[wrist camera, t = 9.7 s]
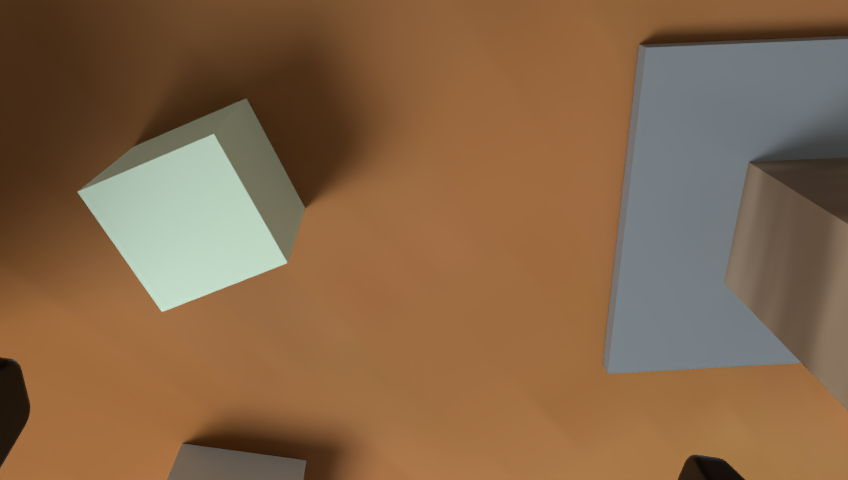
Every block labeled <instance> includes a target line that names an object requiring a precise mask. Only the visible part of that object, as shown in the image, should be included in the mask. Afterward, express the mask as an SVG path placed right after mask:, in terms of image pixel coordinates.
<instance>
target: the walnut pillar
mask: <svg viewBox="0 0 848 480" xmlns="http://www.w3.org/2000/svg"><path fill="white" fill-rule="evenodd" d="M724 283H725V284H726V285H727V286H728V288H729V289H730V290H731V291H732V292H733V293H734V294H735V295H736V296H737V297H738V298H739V299H740V300H741V301H742V302H743V303H744V304H745V305H746V306H747V307H748V308H749V309H750V310H751V311H752V312H753V313H754V314H755V315H756V316H757V318H758V319H759V320H760V321H761V322H762V323H763V324H764V325H765V326H766V327H767V328H768V329H769V330H770V331H771V332H772V333H773V334H774V335H775V336H776V337H777V338H778V339H779V340H780V341H781V342H782V343H783V344H784V345H785V347H786V348H787V349H788V350H789V351H790V352H791V353H792V354H793V355H794V356H795V357H796V358H797V359H798V360H799V361H800V362H801V363H802V364H803V365H804V366H805V367H806V368H807V369H808V370H809V371H810V372H811V373H812V374H813V375H814V377H815V378H816V379H817V380H818V381H819V382H820V383H821V384H822V385H823V386H824V387H825V388H826V389H827V390H828V391H829V392H830V393H831V394H832V395H833V396H834V397H835V398H836V399H837V400H838V401H839V402H840V403H841V404H842V406H843V407H844V408H845V409H846V410H847V411H848V157H845V158H824V159H803V160H782V161H761V162H748V167H747V172H746V177H745V182H744V187H743V192H742V197H741V201H740V206H739V211H738V216H737V221H736V226H735V231H734V236H733V241H732V245H731V250H730V255H729V260H728V265H727V270H726V275H725V280H724Z"/></svg>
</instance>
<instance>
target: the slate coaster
mask: <svg viewBox="0 0 848 480" xmlns="http://www.w3.org/2000/svg"><path fill="white" fill-rule="evenodd" d="M845 157H848V36H827V37H804V38H780V39H757V40H733V41H710V42H686V43H663V44H639V49H638V58H637V67H636V76H635V85H634V93H633V102H632V111H631V120H630V129H629V137H628V146H627V155H626V164H625V173H624V181H623V190H622V199H621V208H620V217H619V226H618V234H617V243H616V252H615V261H614V270H613V278H612V287H611V296H610V305H609V314H608V323H607V331H606V340H605V349H604V358H603V365H604V367H605V369H606V372H607V374H612V373H629V372H647V371H664V370H682V369H699V368H717V367H734V366H752V365H769V364H787V363H801V362H800V361H799V360H798V359H797V358H796V357H795V356H794V355H793V354H792V353H791V352H790V351H789V350H788V349H787V348H786V347H785V345H784V344H783V343H782V342H781V341H780V340H779V339H778V338H777V337H776V336H775V335H774V334H773V333H772V332H771V331H770V330H769V329H768V328H767V327H766V326H765V325H764V324H763V323H762V322H761V321H760V320H759V319H758V318H757V316H756V315H755V314H754V313H753V312H752V311H751V310H750V309H749V308H748V307H747V306H746V305H745V304H744V303H743V302H742V301H741V300H740V299H739V298H738V297H737V296H736V295H735V294H734V293H733V292H732V291H731V290H730V289H729V288H728V286H727V285H726V284H725V283H724V280H725V275H726V270H727V265H728V260H729V255H730V250H731V245H732V241H733V236H734V231H735V226H736V221H737V216H738V211H739V206H740V201H741V197H742V192H743V187H744V182H745V177H746V172H747V167H748V162H761V161H782V160H803V159H824V158H845Z"/></svg>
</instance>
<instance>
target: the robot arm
mask: <svg viewBox="0 0 848 480" xmlns="http://www.w3.org/2000/svg"><path fill="white" fill-rule="evenodd" d="M29 413H30V402H29V398H28V394H27V390H26V386H25V382H24V378H23V374H22V370H21V367H20V365H19V364H18V363H17V361H15V360H13V359H8V358H1V357H0V468H1V466H2V464H3V463H4V461H5V459H6V457H7V456H8V454H9V452H10V451H11V449H12V447H13V445H14V444H15V442H16V440H17V439H18V437H19V435H20V433H21V432H22V430H23V428H24V427H25V425H26V423H27V420H28V417H29ZM678 480H745V479H744V478H743V477H742V476H741V475H740V474H739V473H738V472H737V471H736V470H734V469H733V468H732V467H731V466H730V465H729V464H728V463H727V462H726V461H724V460H723V459H720V458H715V457H708V456H701V455H692V456H690V457H689V458H688V459H687V460H686V462H685V464H684V466H683V468H682V471H681V473H680V475H679V478H678Z"/></svg>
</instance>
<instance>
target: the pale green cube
mask: <svg viewBox="0 0 848 480" xmlns="http://www.w3.org/2000/svg"><path fill="white" fill-rule="evenodd" d="M78 194H79V195H80V197H81V198H82V199H83V201H84V202H85V204H86V205H87V206H88V208H89V209H90V211H91V212H92V214H93V215H94V216H95V218H96V219H97V221H98V222H99V223H100V225H101V226H102V228H103V229H104V231H105V232H106V233H107V235H108V236H109V238H110V239H111V240H112V242H113V243H114V245H115V246H116V248H117V249H118V250H119V252H120V253H121V255H122V256H123V257H124V259H125V260H126V262H127V263H128V265H129V266H130V267H131V269H132V270H133V272H134V273H135V274H136V276H137V277H138V279H139V280H140V282H141V283H142V284H143V286H144V287H145V289H146V290H147V291H148V293H149V294H150V296H151V297H152V299H153V300H154V301H155V303H156V304H157V306H158V307H159V308H160V310H161V311H162V312H163V311H166V310H168V309H171V308H174V307H176V306H179V305H181V304H184V303H186V302H189V301H192V300H194V299H197V298H199V297H202V296H204V295H207V294H210V293H212V292H215V291H217V290H220V289H222V288H225V287H227V286H230V285H233V284H235V283H238V282H240V281H243V280H245V279H248V278H251V277H253V276H256V275H258V274H261V273H263V272H266V271H269V270H271V269H274V268H276V267H279V266H281V265H284V264H287V263H288V261H289V258H290V254H291V251H292V248H293V245H294V242H295V239H296V236H297V232H298V229H299V226H300V223H301V220H302V217H303V214H304V211H305V207H304V205H303V203H302V201H301V200H300V198H299V196H298V194H297V192H296V190H295V188H294V186H293V185H292V183H291V181H290V179H289V177H288V175H287V173H286V171H285V170H284V168H283V166H282V164H281V162H280V160H279V158H278V156H277V155H276V153H275V151H274V149H273V147H272V145H271V143H270V141H269V140H268V138H267V136H266V134H265V132H264V130H263V128H262V126H261V125H260V123H259V121H258V119H257V117H256V115H255V113H254V111H253V110H252V108H251V106H250V104H249V102H248V100H247V98H245V99H243V100H241V101H238V102H236V103H234V104H231V105H229V106H227V107H225V108H222V109H220V110H218V111H215V112H213V113H211V114H208V115H206V116H204V117H201V118H199V119H197V120H194V121H192V122H190V123H187V124H185V125H183V126H180V127H178V128H176V129H173V130H171V131H169V132H166V133H164V134H162V135H159V136H157V137H155V138H152V139H150V140H148V141H145V142H143V143H141V144H138V145H136V146H134V147H132V148H131V149H130V150H129V151H127V152H126V153H125V154H124V155H122V156H121V157H120V158H119V159H117V160H116V161H115V162H114V163H112V164H111V165H110V166H109V167H107V168H106V169H105V170H104V171H102V172H101V173H100V174H99V175H98V176H96V177H95V178H94V179H93V180H91V181H90V182H89V183H88V184H86V185H85V186H84V187H83V188H81V189H80V190H79V191H78Z"/></svg>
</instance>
